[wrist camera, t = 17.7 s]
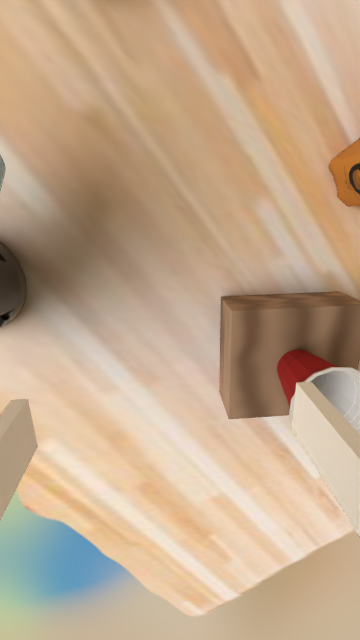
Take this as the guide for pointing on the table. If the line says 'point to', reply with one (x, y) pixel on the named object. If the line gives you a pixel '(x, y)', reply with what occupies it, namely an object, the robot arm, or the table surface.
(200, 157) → the table surface
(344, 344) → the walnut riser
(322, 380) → the plastic cup
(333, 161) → the coffee package
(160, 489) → the table surface
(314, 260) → the table surface
